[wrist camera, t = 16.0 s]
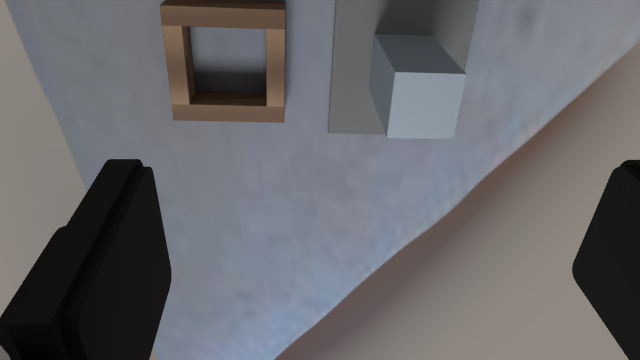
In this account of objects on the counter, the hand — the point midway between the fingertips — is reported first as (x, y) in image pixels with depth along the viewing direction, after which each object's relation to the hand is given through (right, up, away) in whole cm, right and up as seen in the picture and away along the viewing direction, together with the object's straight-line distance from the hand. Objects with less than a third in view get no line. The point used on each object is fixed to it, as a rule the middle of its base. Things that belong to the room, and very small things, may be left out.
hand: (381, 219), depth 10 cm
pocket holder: (-9, +12, +32) cm, 36 cm away
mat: (+6, +11, +33) cm, 36 cm away
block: (+6, +11, +33) cm, 35 cm away
